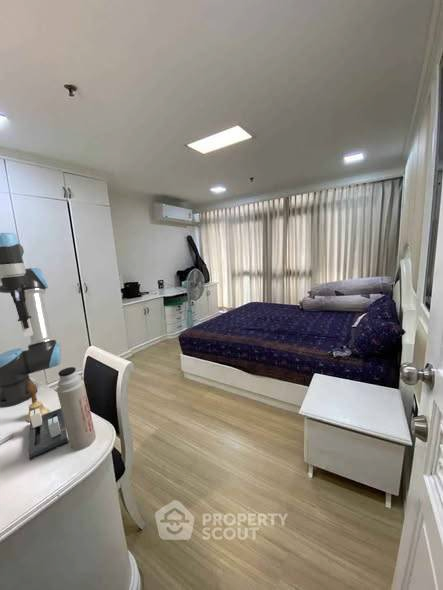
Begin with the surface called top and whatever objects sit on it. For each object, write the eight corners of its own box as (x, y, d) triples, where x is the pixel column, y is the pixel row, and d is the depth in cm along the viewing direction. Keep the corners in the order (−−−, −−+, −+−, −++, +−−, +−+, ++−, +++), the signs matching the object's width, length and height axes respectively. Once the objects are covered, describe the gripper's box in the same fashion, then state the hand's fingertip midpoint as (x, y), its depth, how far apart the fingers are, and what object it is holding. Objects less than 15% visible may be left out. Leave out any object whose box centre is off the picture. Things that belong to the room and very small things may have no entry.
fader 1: (34, 425, 96) (30, 410, 95) (42, 422, 98) (39, 407, 97) (34, 431, 93) (29, 416, 92) (42, 427, 95) (39, 412, 93)
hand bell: (46, 406, 111) (38, 374, 107) (52, 413, 105) (43, 379, 102) (23, 417, 104) (14, 383, 101) (28, 425, 99) (18, 389, 96)
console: (31, 425, 99) (30, 419, 98) (63, 412, 105) (62, 407, 105) (29, 460, 81) (27, 454, 81) (68, 443, 88) (66, 436, 87)
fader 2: (51, 434, 90) (47, 419, 89) (60, 431, 92) (57, 415, 91) (52, 441, 87) (48, 425, 86) (61, 437, 89) (57, 421, 87)
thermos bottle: (100, 434, 91) (85, 364, 85) (84, 451, 83) (67, 376, 77) (82, 432, 92) (66, 364, 87) (65, 449, 85) (46, 376, 79)
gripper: (2, 276, 94) (17, 334, 99) (-3, 278, 84) (15, 342, 89) (27, 273, 99) (40, 329, 103) (25, 275, 88) (40, 336, 93)
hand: (28, 335), depth 96 cm, fingers closed
